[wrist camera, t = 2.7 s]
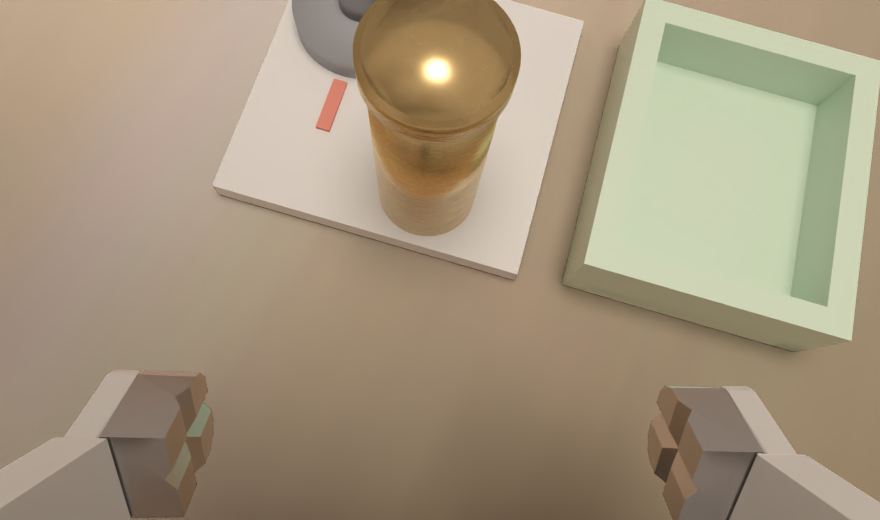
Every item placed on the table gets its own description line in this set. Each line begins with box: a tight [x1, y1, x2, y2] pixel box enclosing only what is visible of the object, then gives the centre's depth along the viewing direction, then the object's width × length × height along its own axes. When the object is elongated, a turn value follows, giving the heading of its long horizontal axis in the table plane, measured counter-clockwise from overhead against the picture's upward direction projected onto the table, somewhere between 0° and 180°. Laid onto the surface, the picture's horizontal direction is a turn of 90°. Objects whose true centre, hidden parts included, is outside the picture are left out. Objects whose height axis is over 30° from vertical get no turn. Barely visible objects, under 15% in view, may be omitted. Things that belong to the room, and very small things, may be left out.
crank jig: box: [212, 0, 584, 280], centre depth 24 cm, size 13×12×7 cm
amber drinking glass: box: [353, 0, 521, 236], centre depth 21 cm, size 4×4×10 cm
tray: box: [562, 0, 880, 352], centre depth 26 cm, size 10×12×4 cm
